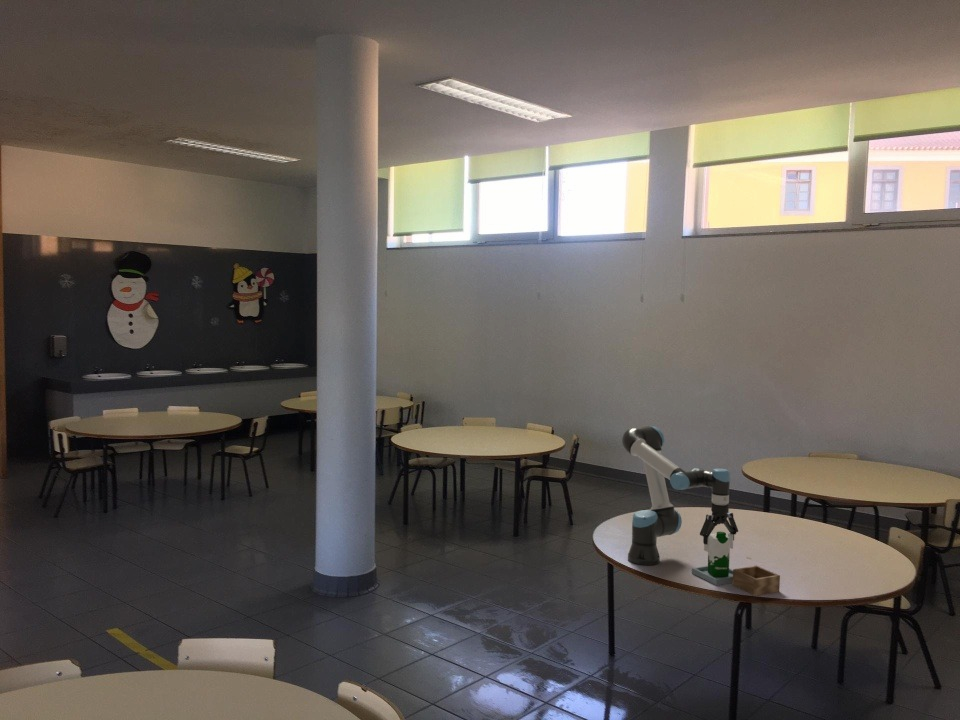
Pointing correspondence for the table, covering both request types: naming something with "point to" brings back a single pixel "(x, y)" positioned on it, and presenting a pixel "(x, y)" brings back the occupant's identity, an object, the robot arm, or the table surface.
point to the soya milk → (719, 555)
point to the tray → (704, 574)
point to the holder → (756, 580)
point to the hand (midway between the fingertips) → (718, 549)
